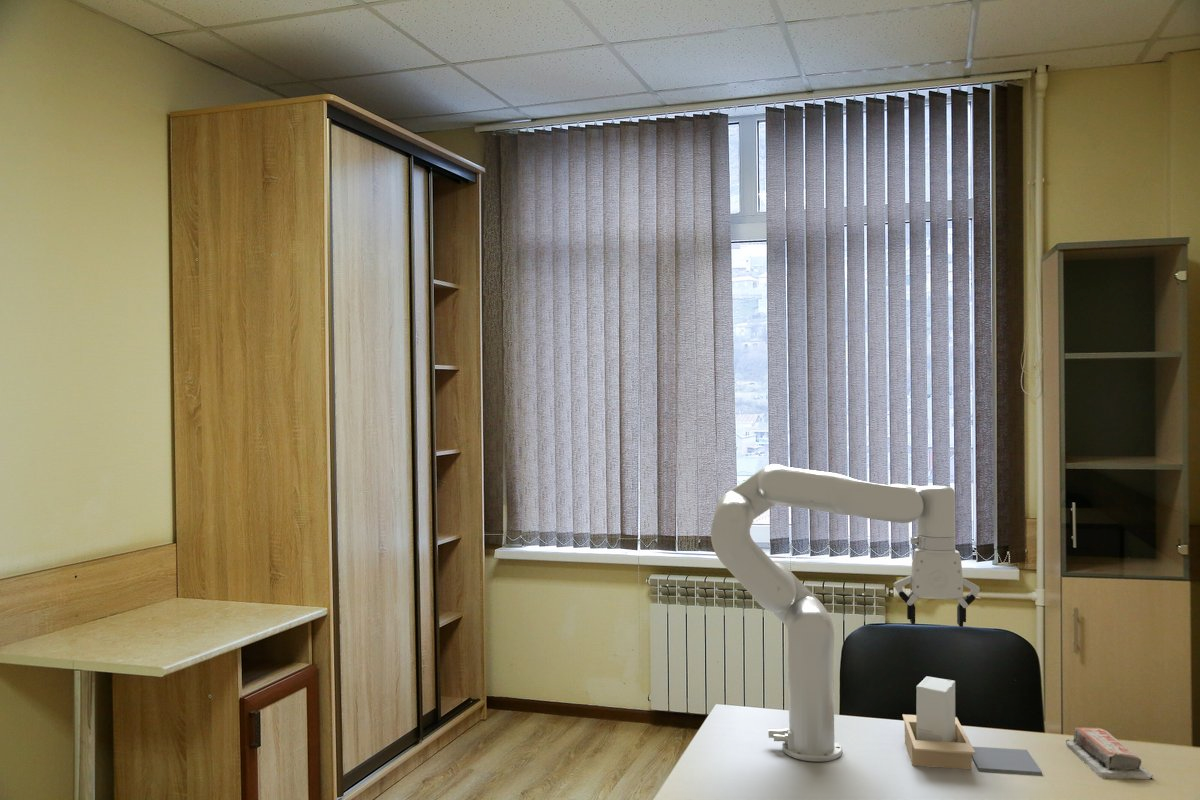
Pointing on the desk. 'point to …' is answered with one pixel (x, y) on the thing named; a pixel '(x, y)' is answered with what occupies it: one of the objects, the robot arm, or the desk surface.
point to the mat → (1005, 760)
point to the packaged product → (1106, 754)
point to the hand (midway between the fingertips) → (936, 624)
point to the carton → (938, 748)
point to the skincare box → (935, 710)
